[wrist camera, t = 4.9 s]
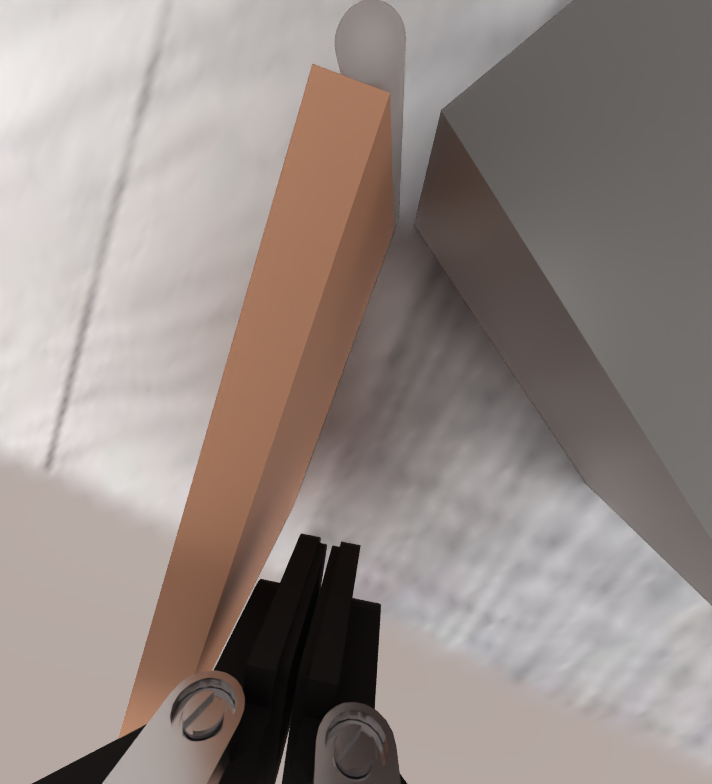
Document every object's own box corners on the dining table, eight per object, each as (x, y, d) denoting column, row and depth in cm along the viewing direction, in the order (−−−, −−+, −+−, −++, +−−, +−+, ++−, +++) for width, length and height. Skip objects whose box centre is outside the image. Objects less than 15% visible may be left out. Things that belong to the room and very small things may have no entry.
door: (402, 208, 17) (416, 13, 5) (293, 507, 21) (163, 767, 9) (359, 192, 17) (281, -37, 6) (257, 493, 21) (83, 736, 9)
